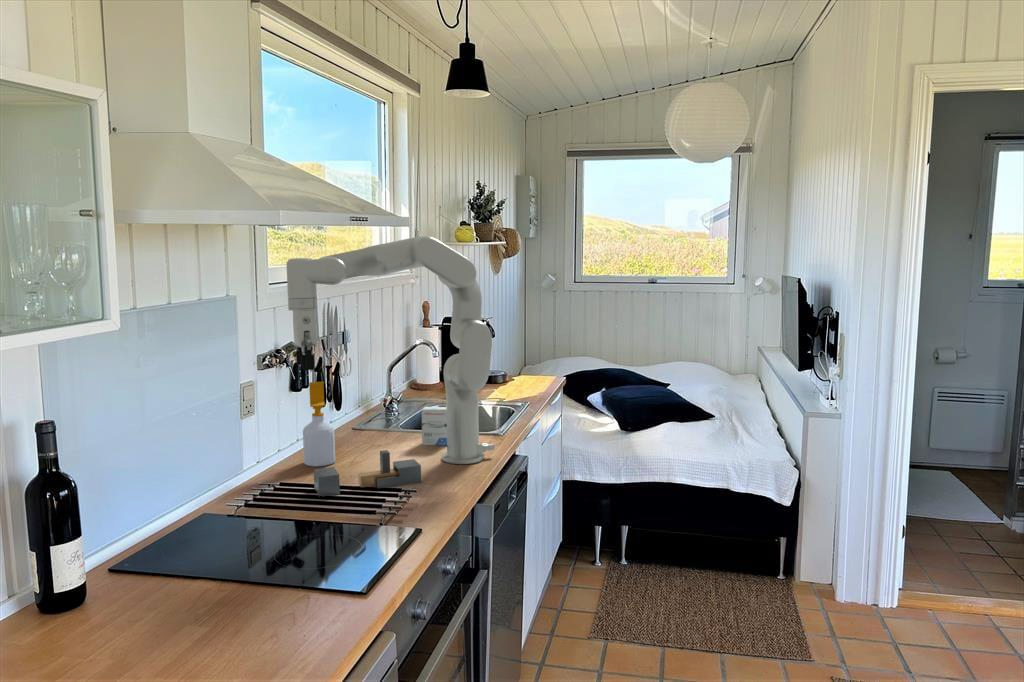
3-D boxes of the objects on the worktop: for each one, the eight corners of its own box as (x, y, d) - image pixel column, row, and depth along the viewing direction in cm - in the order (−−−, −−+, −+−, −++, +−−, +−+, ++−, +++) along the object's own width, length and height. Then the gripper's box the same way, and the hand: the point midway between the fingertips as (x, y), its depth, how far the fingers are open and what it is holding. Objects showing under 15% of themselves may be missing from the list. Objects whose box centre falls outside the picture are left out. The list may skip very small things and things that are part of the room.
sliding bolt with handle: (416, 476, 215) (415, 446, 214) (419, 479, 212) (418, 449, 211) (358, 484, 209) (357, 453, 208) (361, 487, 206) (360, 456, 205)
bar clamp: (414, 475, 217) (413, 457, 217) (421, 482, 210) (421, 464, 210) (314, 488, 207) (313, 469, 206) (319, 496, 200) (318, 477, 199)
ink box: (451, 441, 253) (450, 406, 251) (448, 446, 248) (447, 409, 246) (425, 441, 253) (424, 405, 252) (421, 445, 249) (421, 409, 247)
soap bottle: (304, 468, 225) (300, 384, 222) (304, 459, 234) (300, 379, 230) (336, 465, 227) (332, 382, 224) (334, 457, 236) (331, 377, 233)
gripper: (322, 306, 203) (325, 371, 205) (311, 301, 219) (314, 361, 221) (292, 307, 200) (295, 373, 202) (284, 302, 216) (286, 363, 218)
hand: (305, 367), depth 212 cm, fingers open, 9 cm apart
